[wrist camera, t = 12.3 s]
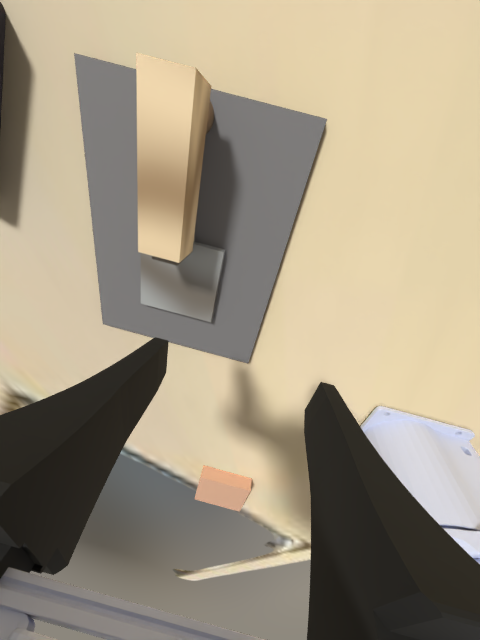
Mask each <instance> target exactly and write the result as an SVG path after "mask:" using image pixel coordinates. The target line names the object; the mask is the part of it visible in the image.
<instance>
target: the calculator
mask: <svg viewBox="0 0 480 640" xmlns="http://www.w3.org/2000/svg"><path fill="white" fill-rule="evenodd" d="M4 39H5V10H4V7H3V5H2V4H1V2H0V127H1V105H2V84H3V61H4Z"/></svg>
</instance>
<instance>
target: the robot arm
mask: <svg viewBox="0 0 480 640" xmlns="http://www.w3.org/2000/svg"><path fill="white" fill-rule="evenodd" d="M167 353H168V340H164V339H160V338H157V337H155V338H153V339H152V340H150V341H149V342H147V343H146V344H144V345H143V346H141V347H140V348H138V349H137V350H135V351H134V352H132V353H131V354H129V355H128V356H126V357H125V358H123V359H121V360H120V361H118V362H117V363H115V364H113V365H112V366H110V367H108V368H106V369H105V370H103V371H101V372H99V373H98V374H96V375H94V376H92V377H90V378H88V379H87V380H85V381H83V382H81V383H79V384H77V385H75V386H72V387H70V388H68V389H66V390H64V391H62V392H59V393H57V394H55V395H52V396H50V397H47V398H45V399H43V400H40V401H38V402H35V403H33V404H30V405H28V406H25V407H22V408H19V409H17V410H14V411H11V412H8V413H5V414H2V415H0V640H57V639H53V638H50V637H47V636H44V635H41V634H38V633H35V632H34V628H35V623H34V620H33V619H37V620H40V621H44V622H47V623H50V624H54V625H58V626H61V627H65V628H68V629H72V630H76V631H79V632H82V633H86V634H89V635H93V636H96V637H100V638H103V639H107V640H265V639H262V638H258V637H255V636H251V635H248V634H244V633H241V632H237V631H234V630H230V629H226V628H223V627H219V626H216V625H212V624H209V623H205V622H202V621H198V620H194V619H191V618H187V617H184V616H180V615H176V614H173V613H170V612H166V611H162V610H159V609H155V608H152V607H148V606H145V605H141V604H138V603H134V602H130V601H127V600H123V599H120V598H116V597H113V596H109V595H106V594H102V593H98V592H95V591H91V590H88V589H84V588H81V587H77V586H74V585H70V584H66V583H63V582H59V581H56V580H52V579H49V578H45V577H42V576H38V575H34V574H31V573H30V571H34V572H37V573H42V572H46V573H49V574H53V575H54V574H56V573H57V572H59V571H61V570H62V569H63V568H65V567H66V566H67V565H68V564H69V561H70V559H71V557H72V554H73V552H74V549H75V547H76V545H77V543H78V541H79V539H80V536H81V534H82V532H83V529H84V527H85V525H86V523H87V521H88V518H89V516H90V514H91V512H92V510H93V508H94V505H95V503H96V501H97V499H98V497H99V495H100V493H101V491H102V489H103V486H104V485H105V483H106V480H107V478H108V476H109V474H110V472H111V470H112V468H113V466H114V464H115V462H116V460H117V458H118V456H119V454H120V452H121V450H122V448H123V446H124V445H125V443H126V441H127V439H128V438H129V436H130V434H131V433H132V431H133V429H134V428H135V426H136V425H137V423H138V421H139V420H140V418H141V417H142V415H143V413H144V412H145V410H146V409H147V407H148V405H149V404H150V402H151V401H152V399H153V397H154V396H155V394H156V392H157V391H158V388H159V386H160V384H161V382H162V380H163V378H164V376H165V374H166V367H167ZM304 433H305V443H306V453H307V462H308V471H309V480H310V492H311V573H310V574H311V575H310V598H309V618H308V633H307V640H480V456H479V455H478V453H477V452H476V450H475V449H474V448H473V446H472V445H471V443H470V442H469V440H471V439H472V438H473V437H474V436H475V434H474V433H473V432H472V431H471V430H468V429H465V428H461V427H457V426H454V425H450V424H446V423H443V422H439V421H435V420H432V419H428V418H424V417H421V416H417V415H413V414H409V413H406V412H402V411H398V410H395V409H391V408H387V407H384V406H378V407H376V408H375V409H374V410H373V412H372V413H371V414H370V415H369V417H368V418H367V419H366V420H365V421H364V423H363V424H362V425H361V426H359V424H358V423H357V421H356V420H355V418H354V417H353V415H352V413H351V412H350V410H349V409H348V407H347V405H346V404H345V402H344V401H343V399H342V397H341V396H340V394H339V392H338V391H337V389H336V388H335V386H334V385H330V384H327V383H323V382H321V383H320V385H319V386H318V388H317V390H316V392H315V393H314V395H313V397H312V399H311V400H310V402H309V404H308V405H307V407H306V409H305V421H304ZM32 618H33V619H32Z"/></svg>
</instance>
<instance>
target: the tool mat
mask: <svg viewBox="0 0 480 640" xmlns="http://www.w3.org/2000/svg"><path fill="white" fill-rule="evenodd" d="M74 56H75V65H76V75H77V84H78V94H79V103H80V112H81V122H82V131H83V141H84V150H85V159H86V169H87V178H88V188H89V197H90V207H91V216H92V225H93V235H94V244H95V254H96V263H97V272H98V282H99V291H100V301H101V310H102V319H103V324H105V325H108V326H112V327H116V328H119V329H123V330H127V331H130V332H134V333H138V334H141V335H145V336H149V337H153V338H155V337H157V338H160V339H164V340H168V342H171V343H175V344H178V345H182V346H186V347H189V348H193V349H197V350H201V351H204V352H208V353H212V354H215V355H219V356H223V357H226V358H230V359H234V360H237V361H241V362H245V363H248V362H249V359H250V356H251V353H252V350H253V347H254V344H255V341H256V338H257V335H258V331H259V328H260V325H261V322H262V319H263V316H264V313H265V310H266V307H267V304H268V300H269V297H270V294H271V291H272V288H273V285H274V282H275V279H276V276H277V273H278V270H279V266H280V263H281V260H282V257H283V254H284V251H285V248H286V245H287V242H288V239H289V235H290V232H291V229H292V226H293V223H294V220H295V217H296V214H297V211H298V208H299V204H300V201H301V198H302V195H303V192H304V189H305V186H306V183H307V180H308V177H309V173H310V170H311V167H312V164H313V161H314V158H315V155H316V152H317V149H318V146H319V142H320V139H321V136H322V133H323V130H324V127H325V124H326V121H327V119H325V118H321V117H317V116H313V115H309V114H305V113H302V112H298V111H294V110H290V109H286V108H282V107H279V106H275V105H271V104H267V103H263V102H259V101H256V100H252V99H248V98H244V97H240V96H236V95H233V94H229V93H225V92H221V91H217V90H213V89H211V93H210V101H211V103H212V106H213V110H214V122H213V125H212V128H211V129H210V131H209V132H208V133H207V134H206V137H205V146H204V154H203V163H202V172H201V181H200V189H199V198H198V207H197V216H196V224H195V233H194V234H195V242H198V243H202V244H206V245H210V246H213V247H217V248H221V249H225V255H224V260H223V266H222V271H221V276H220V282H219V287H218V292H217V298H216V303H215V308H214V313H213V319H212V321H211V322H207V321H204V320H200V319H196V318H193V317H189V316H185V315H181V314H178V313H174V312H170V311H167V310H163V309H159V308H155V307H152V306H148V305H144V304H141V253H140V252H138V185H137V75H136V69H133V68H129V67H125V66H121V65H117V64H114V63H110V62H106V61H102V60H98V59H94V58H91V57H87V56H83V55H79V54H75V53H74Z"/></svg>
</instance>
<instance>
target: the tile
mask: <svg viewBox="0 0 480 640" xmlns="http://www.w3.org/2000/svg"><path fill="white" fill-rule="evenodd" d="M251 481H252V478H248V477H244V476H241V475H237V474H233V473H230V472H226V471H222V470H219V469H215V468H211V467H208V466H203V469H202V473H201V477H200V480H199V484H198V488H197V492H196V495H195V499H196V500H199V501H203V502H207V503H210V504H214V505H218V506H221V507H225V508H228V509H232V510H236V511H240V510H241V508H242V506H243V504H244V502H245V500H246V498H247V497H248V495H249V493H250V491H251Z"/></svg>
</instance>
